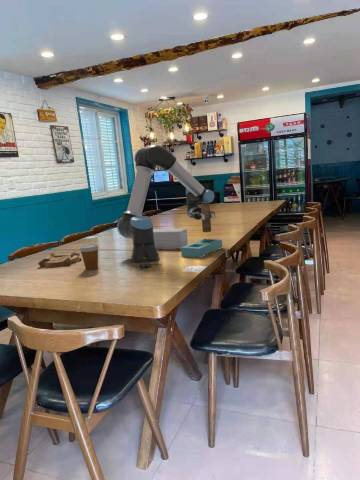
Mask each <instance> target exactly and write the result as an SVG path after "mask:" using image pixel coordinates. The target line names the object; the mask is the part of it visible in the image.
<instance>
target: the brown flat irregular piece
mask: <svg viewBox="0 0 360 480" xmlns="http://www.w3.org/2000/svg"><path fill="white" fill-rule="evenodd" d="M80 255H81V252H76V251H75V252H74V251H73V252H72V253H65V254H64V253H63V254H56V253H55V252H51V253H50V254H49V256H46V257H44V258H43V259H41V260H40V261H39V262H38V263H37V264H38V266H39V267H40V268H41V269H43V268H46V269H48V268H62V267H68V266H72V265H75V264H77V263H79V262H80V261H82V257H80Z"/></svg>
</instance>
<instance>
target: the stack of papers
mask: <svg viewBox="0 0 360 480" xmlns="http://www.w3.org/2000/svg"><path fill="white" fill-rule="evenodd" d="M153 233H154V244H155V247H156V249H176V248H181V247H183V246H186V245H189V241H188V229H187V228H153Z"/></svg>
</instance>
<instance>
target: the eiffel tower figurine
mask: <svg viewBox="0 0 360 480" xmlns="http://www.w3.org/2000/svg"><path fill="white" fill-rule="evenodd" d="M142 246H143V259H142V262H140V264H138V265H135V266H134V268H138V269H142V270H147V269H151V268H153V266H162V263H150V261H149V262H148V261H147V258H146V255H145V250H144V245H142ZM131 270H132V268H130V269H129V271H131Z"/></svg>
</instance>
